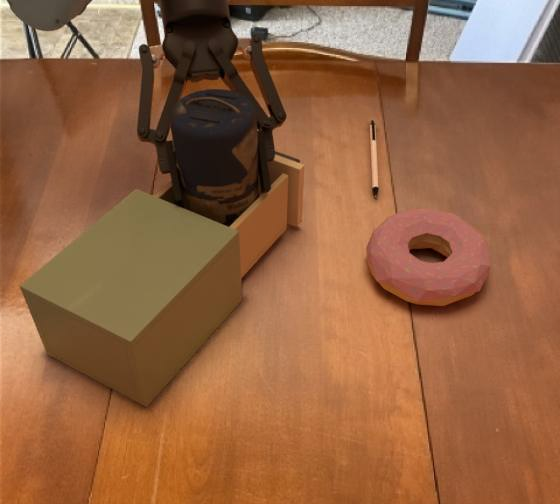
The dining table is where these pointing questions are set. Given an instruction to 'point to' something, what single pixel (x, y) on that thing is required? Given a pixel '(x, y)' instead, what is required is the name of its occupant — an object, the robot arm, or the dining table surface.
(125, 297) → the cabinet
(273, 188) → the drawer
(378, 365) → the dining table surface
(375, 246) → the donut
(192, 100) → the canister
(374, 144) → the pen
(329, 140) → the dining table surface
